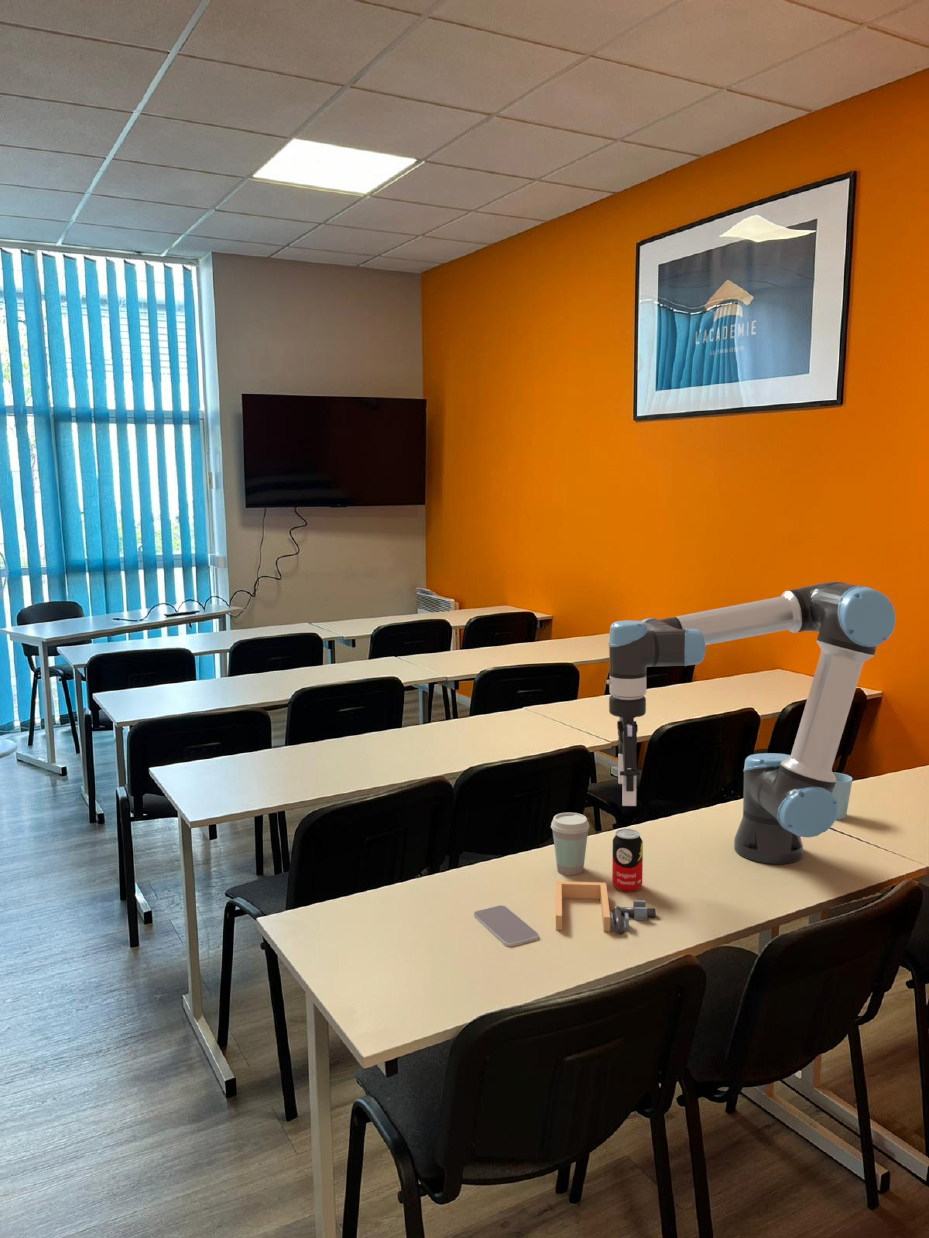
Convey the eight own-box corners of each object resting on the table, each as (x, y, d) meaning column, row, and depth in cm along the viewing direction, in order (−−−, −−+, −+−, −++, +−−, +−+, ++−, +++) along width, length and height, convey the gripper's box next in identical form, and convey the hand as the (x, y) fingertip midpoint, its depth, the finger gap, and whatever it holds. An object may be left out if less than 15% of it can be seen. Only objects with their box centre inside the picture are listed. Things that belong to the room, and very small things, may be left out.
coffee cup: (588, 862, 204) (588, 811, 203) (590, 878, 196) (590, 825, 194) (551, 861, 205) (550, 811, 204) (550, 877, 197) (550, 825, 195)
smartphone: (503, 904, 184) (541, 935, 170) (503, 908, 184) (541, 940, 170) (471, 912, 180) (507, 944, 167) (471, 916, 181) (507, 949, 167)
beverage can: (606, 883, 193) (606, 830, 192) (631, 878, 196) (631, 825, 194) (622, 895, 188) (623, 841, 186) (648, 889, 190) (648, 835, 188)
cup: (835, 823, 225) (837, 783, 224) (811, 813, 232) (813, 775, 230) (857, 818, 228) (859, 778, 227) (832, 809, 235) (834, 770, 234)
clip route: (654, 911, 180) (654, 900, 180) (659, 935, 170) (660, 924, 170) (607, 910, 181) (607, 899, 181) (610, 934, 171) (610, 922, 171)
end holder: (605, 896, 187) (605, 882, 187) (610, 931, 172) (610, 917, 172) (555, 894, 188) (555, 881, 188) (555, 929, 173) (555, 915, 173)
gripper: (606, 682, 198) (606, 774, 202) (612, 710, 174) (612, 814, 177) (640, 682, 198) (639, 775, 201) (651, 710, 173) (650, 815, 176)
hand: (626, 794), depth 189 cm, fingers open, 13 cm apart
